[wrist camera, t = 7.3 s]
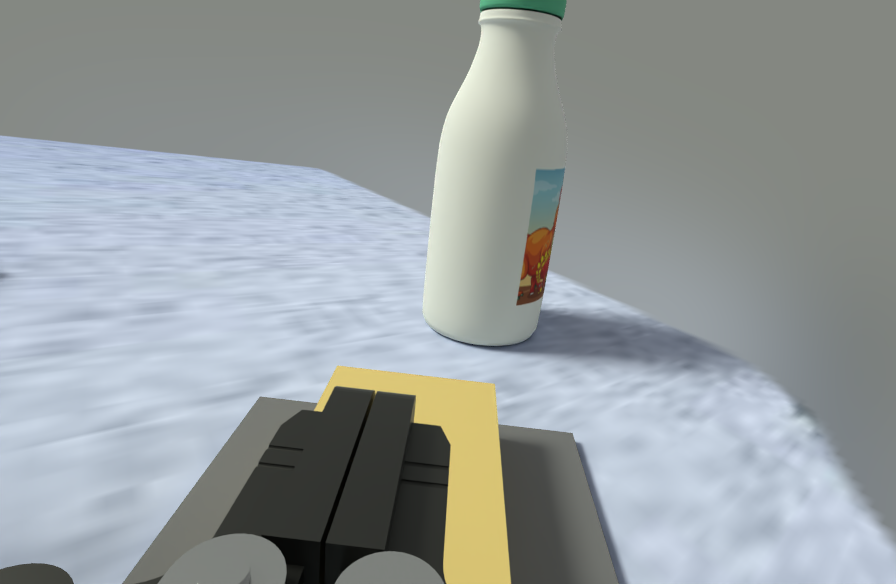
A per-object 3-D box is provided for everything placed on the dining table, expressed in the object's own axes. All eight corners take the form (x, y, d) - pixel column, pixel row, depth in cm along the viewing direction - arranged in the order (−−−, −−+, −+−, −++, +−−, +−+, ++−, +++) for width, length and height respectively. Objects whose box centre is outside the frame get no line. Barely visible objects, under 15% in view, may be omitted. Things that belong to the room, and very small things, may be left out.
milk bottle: (474, 360, 29) (530, -47, 22) (398, 312, 35) (425, -27, 28) (560, 334, 34) (628, -7, 27) (481, 296, 39) (521, 3, 33)
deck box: (525, 770, 9) (494, 383, 21) (149, 724, 9) (337, 365, 21) (504, 853, 10) (486, 436, 22) (162, 812, 10) (335, 418, 22)
